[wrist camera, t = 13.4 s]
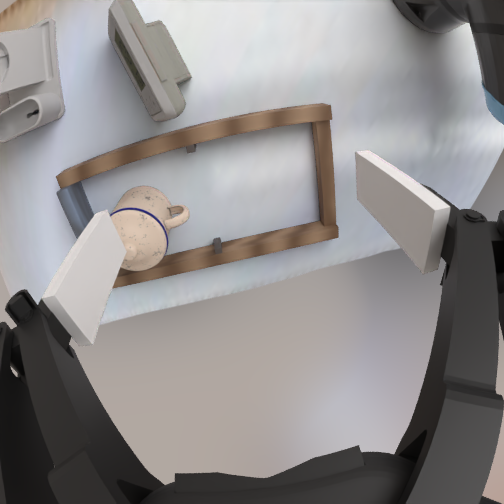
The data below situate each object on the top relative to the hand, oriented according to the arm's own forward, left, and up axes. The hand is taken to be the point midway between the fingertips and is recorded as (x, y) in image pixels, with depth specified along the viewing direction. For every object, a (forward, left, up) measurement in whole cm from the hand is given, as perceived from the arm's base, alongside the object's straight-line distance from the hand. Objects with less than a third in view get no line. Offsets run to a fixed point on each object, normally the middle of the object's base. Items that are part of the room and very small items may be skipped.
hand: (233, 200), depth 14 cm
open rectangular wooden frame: (+5, +10, -26) cm, 29 cm away
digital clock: (+7, -11, -27) cm, 30 cm away
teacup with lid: (+12, +10, -27) cm, 31 cm away
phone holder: (+25, -17, -27) cm, 40 cm away
